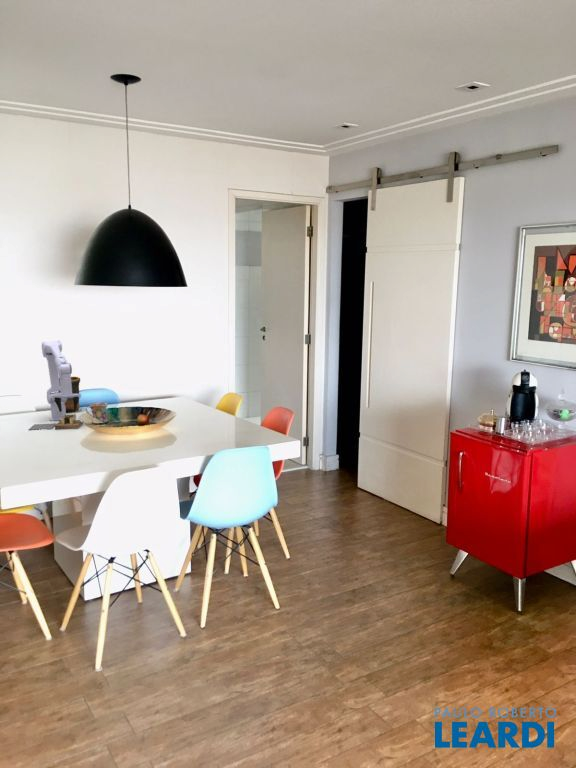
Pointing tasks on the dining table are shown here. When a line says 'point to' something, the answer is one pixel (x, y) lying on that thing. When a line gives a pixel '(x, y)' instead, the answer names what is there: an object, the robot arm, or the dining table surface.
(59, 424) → the peg stand
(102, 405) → the mug
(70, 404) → the vessel
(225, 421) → the dining table surface
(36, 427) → the mat
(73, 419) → the u link
